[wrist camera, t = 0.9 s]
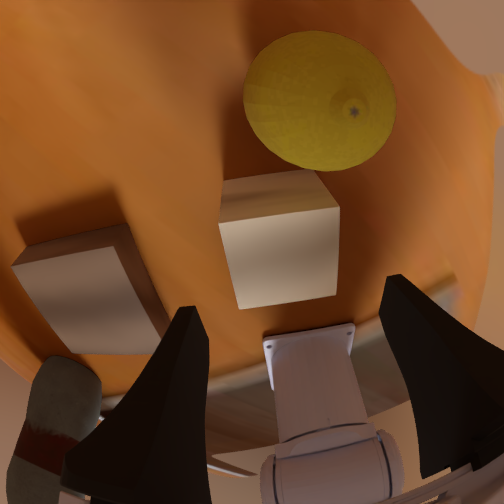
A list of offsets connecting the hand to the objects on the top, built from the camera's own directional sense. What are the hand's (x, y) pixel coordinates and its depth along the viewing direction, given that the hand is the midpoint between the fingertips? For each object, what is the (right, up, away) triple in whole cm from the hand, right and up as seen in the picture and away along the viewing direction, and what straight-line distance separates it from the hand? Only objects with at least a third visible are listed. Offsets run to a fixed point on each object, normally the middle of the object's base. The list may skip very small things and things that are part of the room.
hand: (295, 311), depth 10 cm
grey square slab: (-14, -1, +10) cm, 17 cm away
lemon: (+1, +10, +3) cm, 11 cm away
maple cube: (0, +4, +7) cm, 8 cm away
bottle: (-24, -13, +17) cm, 32 cm away
